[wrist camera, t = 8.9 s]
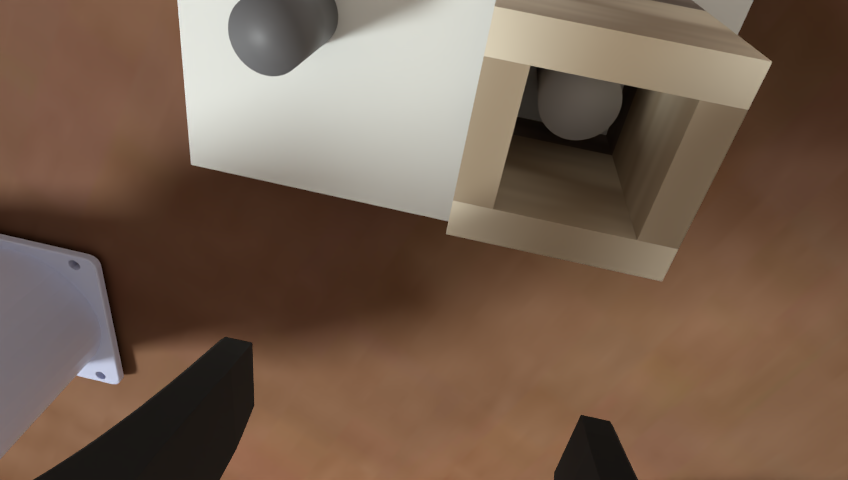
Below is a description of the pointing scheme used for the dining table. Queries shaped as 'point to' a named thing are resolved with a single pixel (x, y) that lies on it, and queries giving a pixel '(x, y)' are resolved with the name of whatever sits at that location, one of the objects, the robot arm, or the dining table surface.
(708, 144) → the sleeve
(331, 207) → the dining table surface
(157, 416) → the robot arm
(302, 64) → the pinboard
